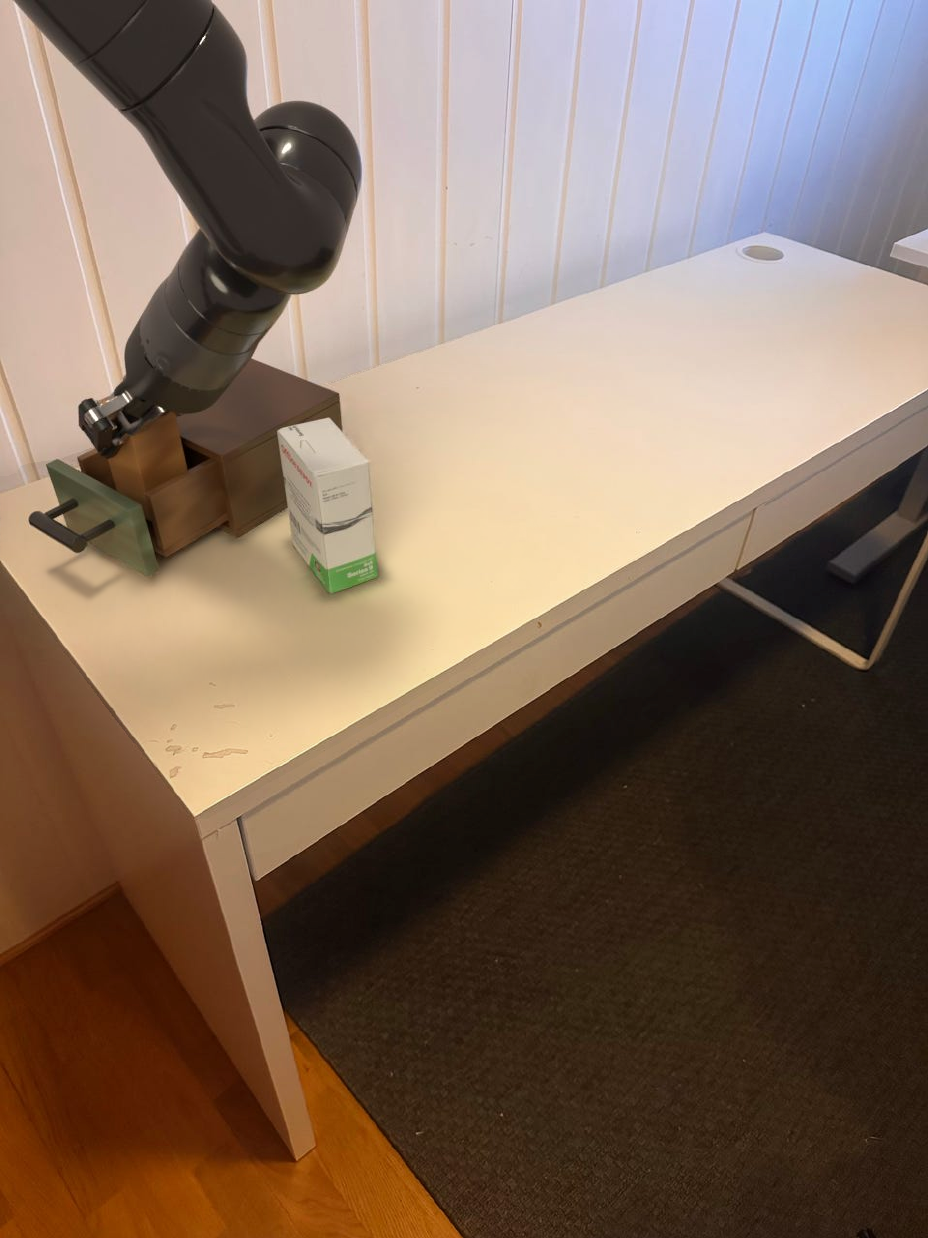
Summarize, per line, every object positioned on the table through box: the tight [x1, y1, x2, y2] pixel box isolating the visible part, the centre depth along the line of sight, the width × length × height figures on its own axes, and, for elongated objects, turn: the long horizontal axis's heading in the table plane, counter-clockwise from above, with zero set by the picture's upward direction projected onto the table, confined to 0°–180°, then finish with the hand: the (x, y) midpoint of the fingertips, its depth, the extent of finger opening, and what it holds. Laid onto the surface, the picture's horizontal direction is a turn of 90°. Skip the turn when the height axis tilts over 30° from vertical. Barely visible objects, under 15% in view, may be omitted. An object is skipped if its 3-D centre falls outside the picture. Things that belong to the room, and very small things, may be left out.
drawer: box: [27, 444, 228, 578], centre depth 79 cm, size 18×11×7 cm, turn 143°
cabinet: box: [176, 358, 344, 539], centre depth 86 cm, size 15×13×9 cm
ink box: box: [277, 418, 379, 594], centre depth 75 cm, size 9×5×12 cm, turn 30°
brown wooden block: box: [98, 395, 188, 522], centre depth 77 cm, size 5×5×10 cm
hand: (128, 435), depth 77 cm, fingers closed on brown wooden block, 4 cm apart
